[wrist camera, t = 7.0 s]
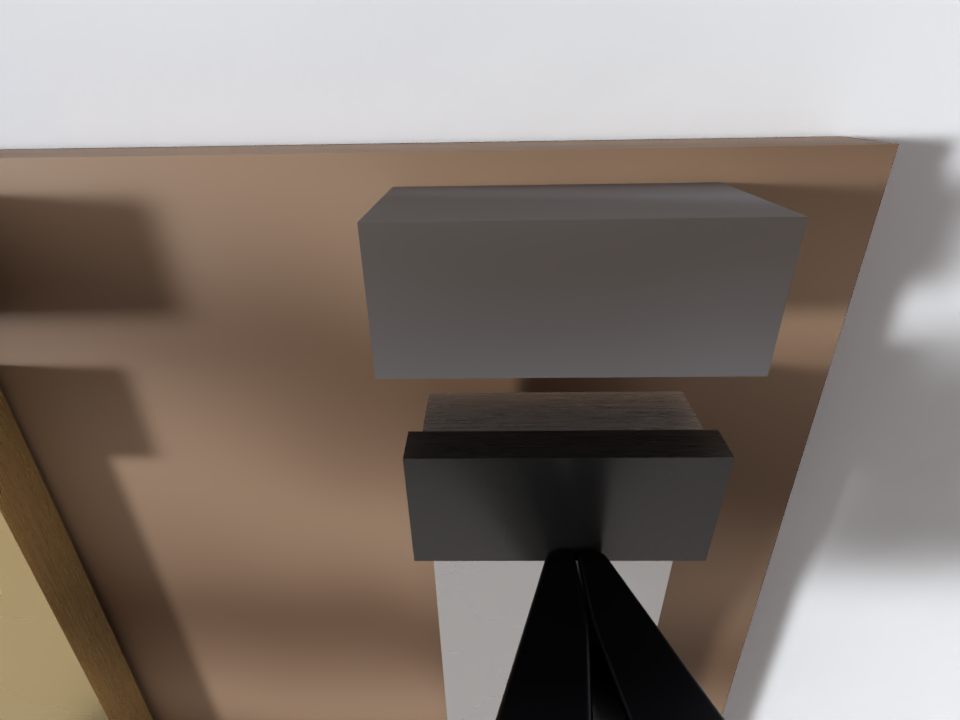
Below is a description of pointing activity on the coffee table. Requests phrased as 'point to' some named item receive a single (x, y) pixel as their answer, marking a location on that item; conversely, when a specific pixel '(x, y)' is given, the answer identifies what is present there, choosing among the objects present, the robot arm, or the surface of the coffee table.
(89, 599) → the brass strap
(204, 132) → the coffee table surface
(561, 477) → the steel strap
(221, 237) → the board
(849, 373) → the coffee table surface
